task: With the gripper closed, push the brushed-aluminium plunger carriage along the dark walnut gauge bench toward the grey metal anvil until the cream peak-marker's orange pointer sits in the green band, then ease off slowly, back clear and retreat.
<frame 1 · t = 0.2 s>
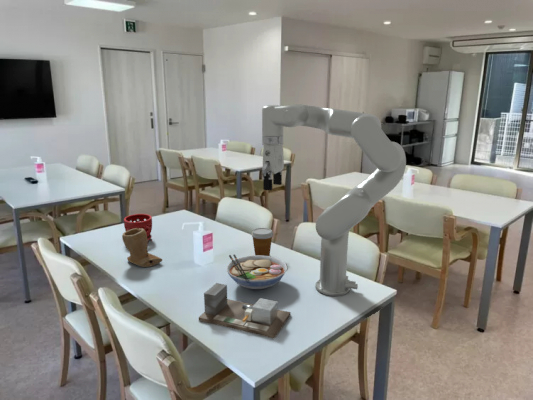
hand: (272, 187, 151), 36 cm above the table, tool pointing down, fingers open, 9 cm apart
plant pot: (139, 241, 202), on the table
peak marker: (246, 317, 127), point 3 cm above the table, slide at 0.0 cm
disposable coffee cup: (262, 257, 182), on the table
gauge plunger: (258, 309, 129), point 4 cm above the table, slide at 0.0 cm
ramen bowl: (257, 285, 155), on the table
gauge bench: (245, 317, 132), on the table
brown boot-shaped piece: (141, 263, 175), on the table
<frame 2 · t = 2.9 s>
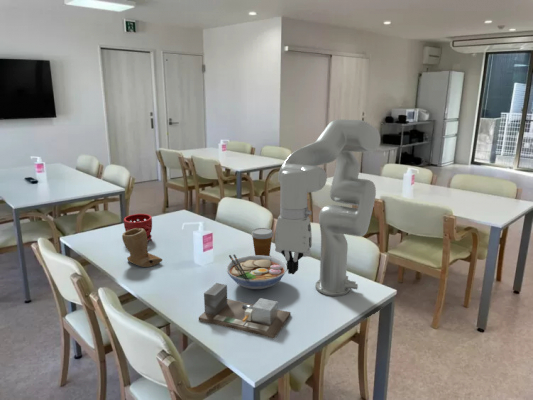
hand: (292, 272, 121), 19 cm above the table, tool pointing down, fingers closed
nothing on the table moved.
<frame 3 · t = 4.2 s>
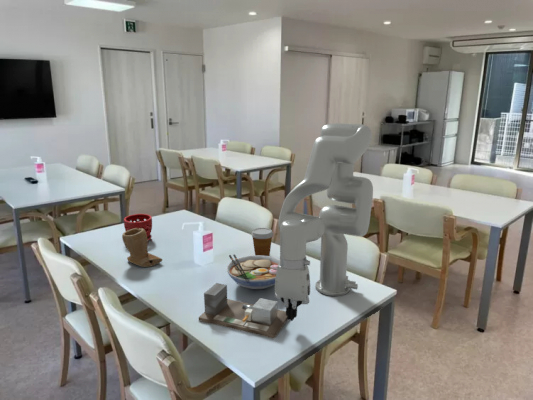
hand: (291, 318, 125), 4 cm above the table, tool pointing down, fingers closed
nothing on the table moved.
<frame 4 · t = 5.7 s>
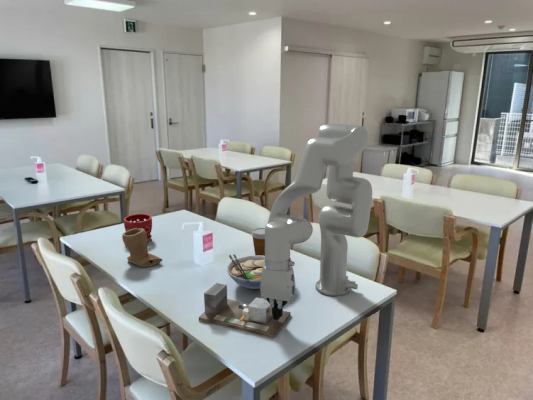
hand: (277, 317, 127), 3 cm above the table, tool pointing down, fingers closed
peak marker: (244, 316, 128), point 3 cm above the table, slide at 0.9 cm, touching gauge plunger
gauge plunger: (254, 309, 130), point 4 cm above the table, slide at 1.4 cm, touching gripper, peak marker
everything else where it was.
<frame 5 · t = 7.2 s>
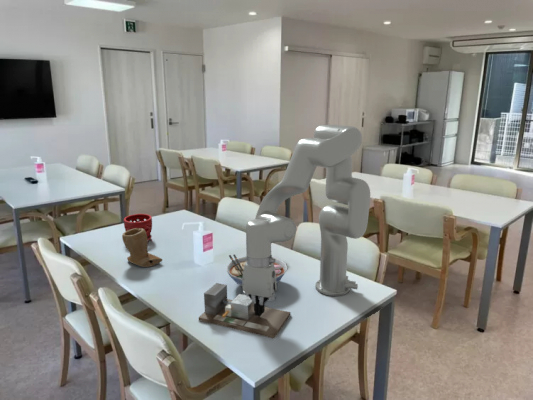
hand: (259, 313, 130), 3 cm above the table, tool pointing down, fingers closed
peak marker: (227, 312, 130), point 3 cm above the table, slide at 6.9 cm, touching gauge plunger
gauge plunger: (237, 305, 132), point 4 cm above the table, slide at 7.4 cm, touching gripper, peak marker
everything else where it was.
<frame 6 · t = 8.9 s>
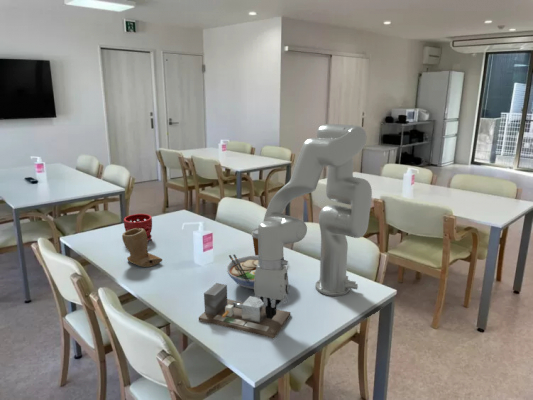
hand: (270, 316, 128), 3 cm above the table, tool pointing down, fingers closed
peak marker: (227, 312, 130), point 3 cm above the table, slide at 7.0 cm
gauge plunger: (248, 307, 131), point 4 cm above the table, slide at 3.5 cm, touching gripper
everything else where it was.
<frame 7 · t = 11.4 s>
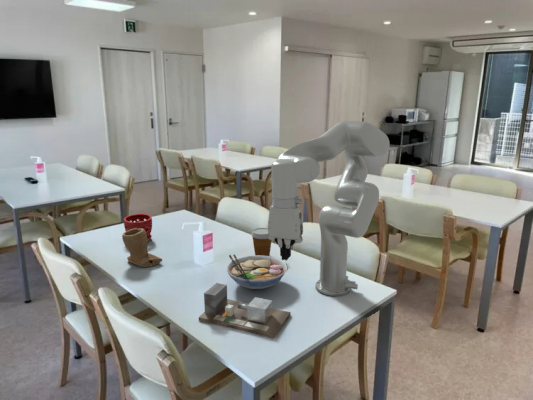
hand: (285, 258, 127), 20 cm above the table, tool pointing down, fingers closed
gauge plunger: (253, 308, 130), point 4 cm above the table, slide at 1.7 cm
everything else where it was.
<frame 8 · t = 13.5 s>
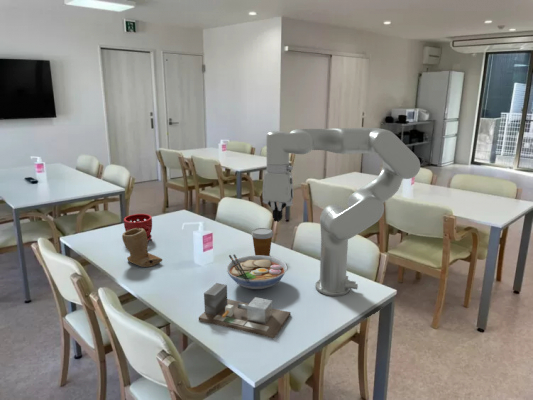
hand: (277, 220, 143), 27 cm above the table, tool pointing down, fingers closed
nothing on the table moved.
at the end: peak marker slide at 7.0 cm; the gripper is holding nothing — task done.
